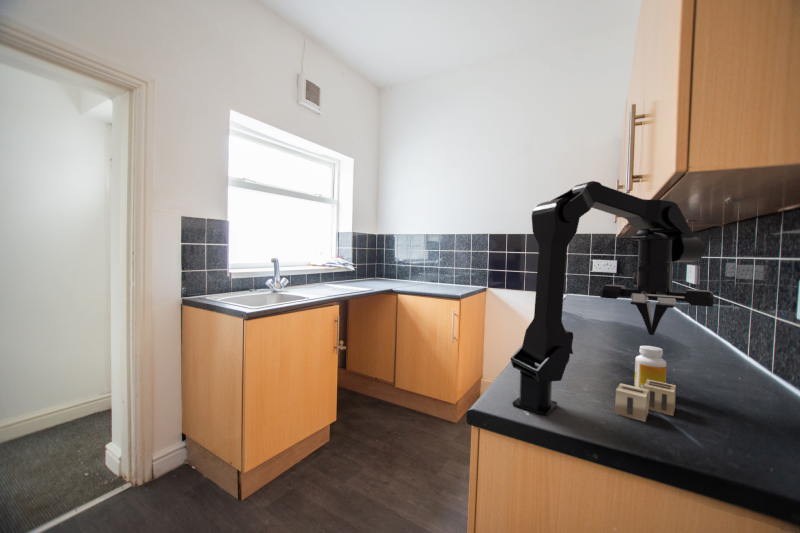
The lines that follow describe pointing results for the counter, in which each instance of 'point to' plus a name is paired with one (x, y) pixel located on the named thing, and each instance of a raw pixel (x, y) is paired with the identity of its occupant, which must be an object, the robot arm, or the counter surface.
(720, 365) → the counter surface
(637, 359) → the supplement bottle
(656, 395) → the birch block two
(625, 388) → the oak block one
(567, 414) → the counter surface
